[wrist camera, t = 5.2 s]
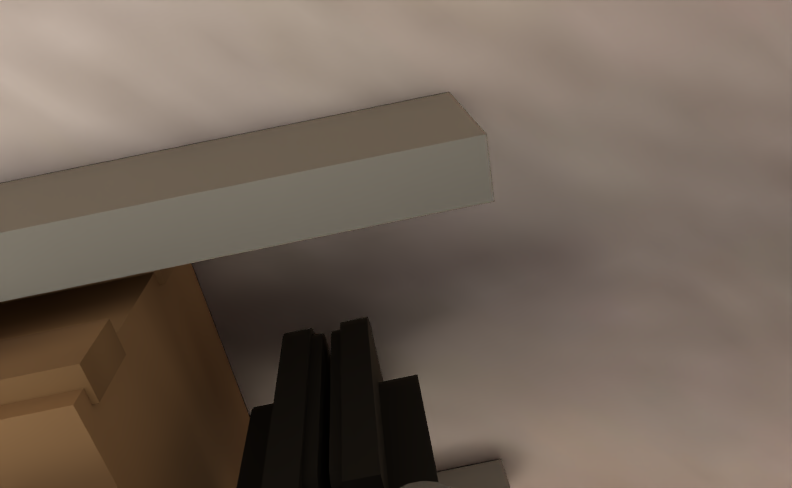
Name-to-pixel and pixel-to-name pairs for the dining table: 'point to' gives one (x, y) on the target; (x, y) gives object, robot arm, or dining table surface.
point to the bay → (246, 201)
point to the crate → (118, 388)
